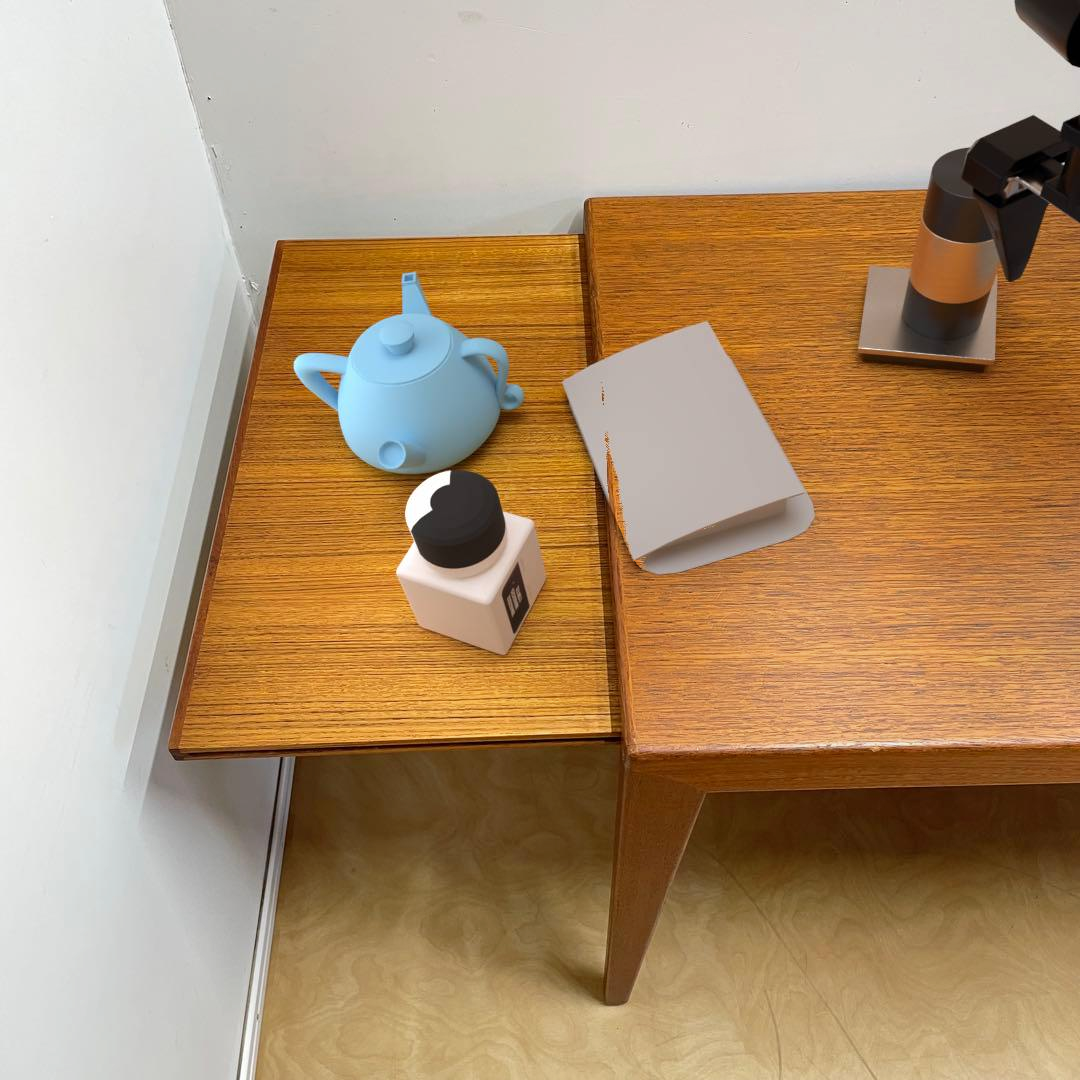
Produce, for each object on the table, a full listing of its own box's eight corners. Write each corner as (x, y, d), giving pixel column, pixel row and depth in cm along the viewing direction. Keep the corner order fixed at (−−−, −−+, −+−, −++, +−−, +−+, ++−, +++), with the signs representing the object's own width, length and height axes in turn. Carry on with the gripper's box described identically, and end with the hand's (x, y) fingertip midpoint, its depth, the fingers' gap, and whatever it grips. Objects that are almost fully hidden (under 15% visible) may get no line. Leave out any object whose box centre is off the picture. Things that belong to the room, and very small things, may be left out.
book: (719, 339, 91) (720, 306, 88) (827, 528, 77) (832, 497, 74) (560, 385, 90) (555, 354, 87) (639, 584, 76) (636, 555, 73)
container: (548, 577, 78) (524, 471, 67) (506, 658, 74) (473, 559, 64) (463, 550, 81) (427, 445, 70) (417, 627, 77) (372, 528, 66)
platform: (989, 377, 84) (995, 360, 82) (855, 364, 87) (858, 348, 85) (992, 291, 90) (997, 274, 88) (866, 282, 93) (869, 265, 91)
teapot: (297, 450, 90) (253, 359, 81) (429, 339, 96) (402, 244, 87) (414, 529, 82) (380, 439, 74) (548, 403, 89) (532, 307, 80)
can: (960, 350, 84) (1000, 209, 72) (887, 322, 87) (914, 182, 75) (996, 305, 86) (1041, 161, 75) (924, 278, 89) (956, 137, 78)
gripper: (1394, 130, 53) (1262, 346, 65) (1124, -1, 64) (1054, 206, 76) (1233, 207, 51) (1128, 414, 64) (983, 58, 62) (935, 260, 74)
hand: (1060, 314), depth 70 cm, fingers open, 9 cm apart
